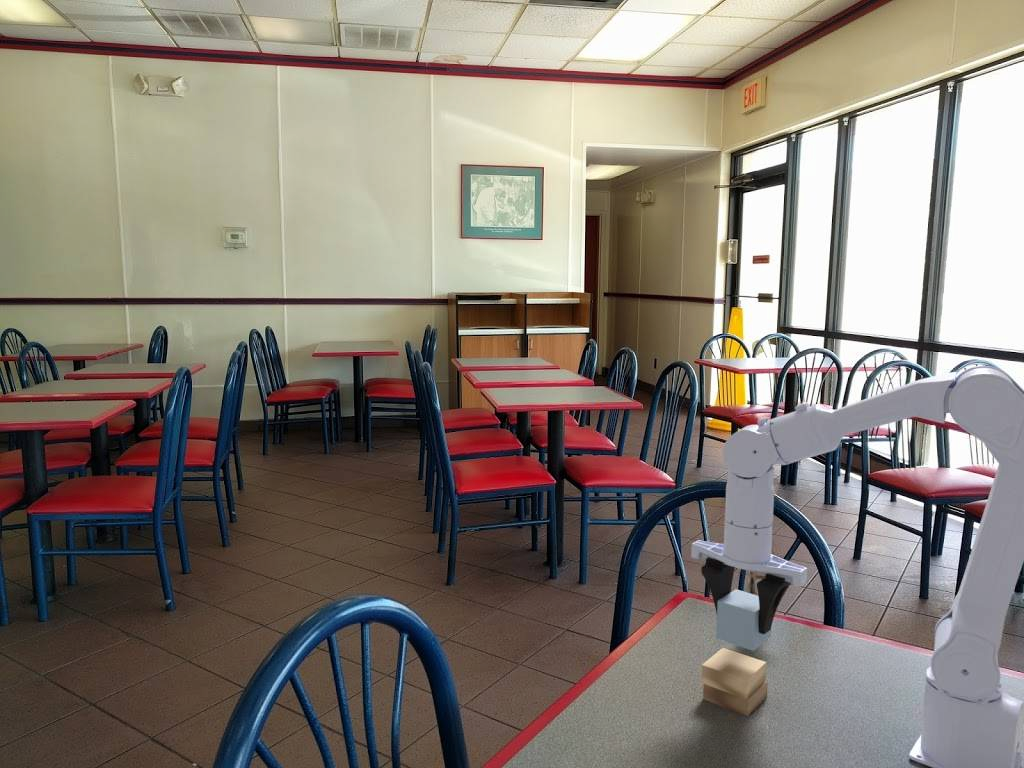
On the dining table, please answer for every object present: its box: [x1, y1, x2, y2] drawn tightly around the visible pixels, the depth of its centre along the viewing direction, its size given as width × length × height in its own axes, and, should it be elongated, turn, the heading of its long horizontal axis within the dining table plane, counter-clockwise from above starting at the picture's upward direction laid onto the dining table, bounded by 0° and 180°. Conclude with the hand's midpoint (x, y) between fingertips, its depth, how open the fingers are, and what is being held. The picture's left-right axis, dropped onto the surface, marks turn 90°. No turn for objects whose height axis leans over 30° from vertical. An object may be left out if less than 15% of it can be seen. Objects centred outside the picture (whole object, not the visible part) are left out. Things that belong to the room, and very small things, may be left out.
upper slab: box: [701, 647, 767, 699], centre depth 96 cm, size 6×6×2 cm
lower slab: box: [702, 679, 769, 717], centre depth 96 cm, size 6×6×2 cm
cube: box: [715, 588, 772, 652], centre depth 95 cm, size 5×5×5 cm
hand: (743, 624), depth 95 cm, fingers closed on cube, 5 cm apart
